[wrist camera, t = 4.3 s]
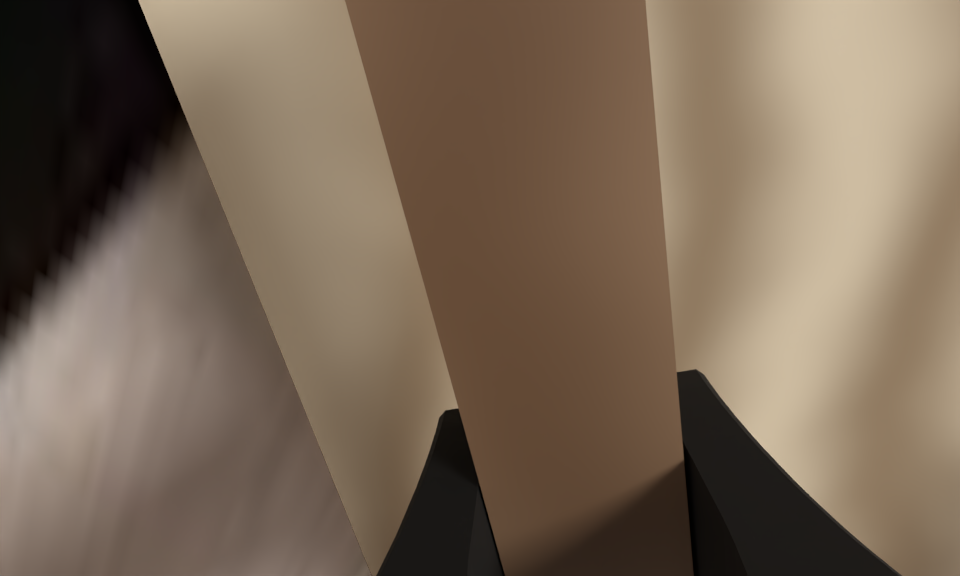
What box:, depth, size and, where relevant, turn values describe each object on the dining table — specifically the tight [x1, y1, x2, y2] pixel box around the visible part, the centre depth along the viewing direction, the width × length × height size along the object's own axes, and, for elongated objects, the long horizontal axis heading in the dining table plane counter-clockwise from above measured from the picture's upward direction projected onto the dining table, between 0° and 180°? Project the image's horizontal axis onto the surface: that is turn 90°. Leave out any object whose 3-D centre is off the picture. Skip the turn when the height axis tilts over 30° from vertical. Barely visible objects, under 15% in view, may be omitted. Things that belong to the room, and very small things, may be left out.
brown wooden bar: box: [345, 0, 694, 576], centre depth 12 cm, size 2×18×3 cm, turn 11°
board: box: [138, 0, 960, 576], centre depth 24 cm, size 20×32×1 cm, turn 11°
